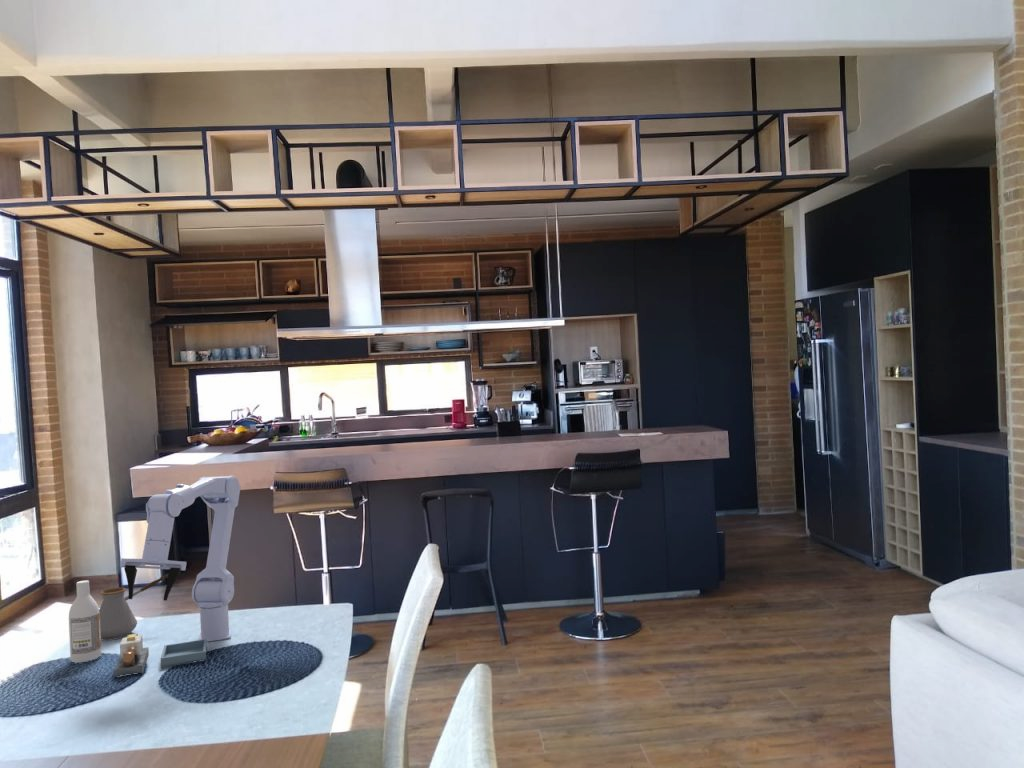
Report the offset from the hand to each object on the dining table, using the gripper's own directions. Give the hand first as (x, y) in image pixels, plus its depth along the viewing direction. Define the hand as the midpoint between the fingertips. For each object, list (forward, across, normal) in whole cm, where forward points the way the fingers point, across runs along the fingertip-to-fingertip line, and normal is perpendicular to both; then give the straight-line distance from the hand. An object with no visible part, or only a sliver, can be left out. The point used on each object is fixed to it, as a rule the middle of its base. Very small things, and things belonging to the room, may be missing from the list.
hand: (147, 599), depth 184 cm
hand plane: (+15, -2, +14) cm, 21 cm away
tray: (+13, +10, +14) cm, 21 cm away
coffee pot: (+6, -5, +46) cm, 46 cm away
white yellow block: (+12, -2, +13) cm, 18 cm away
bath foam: (+14, -14, +26) cm, 33 cm away
